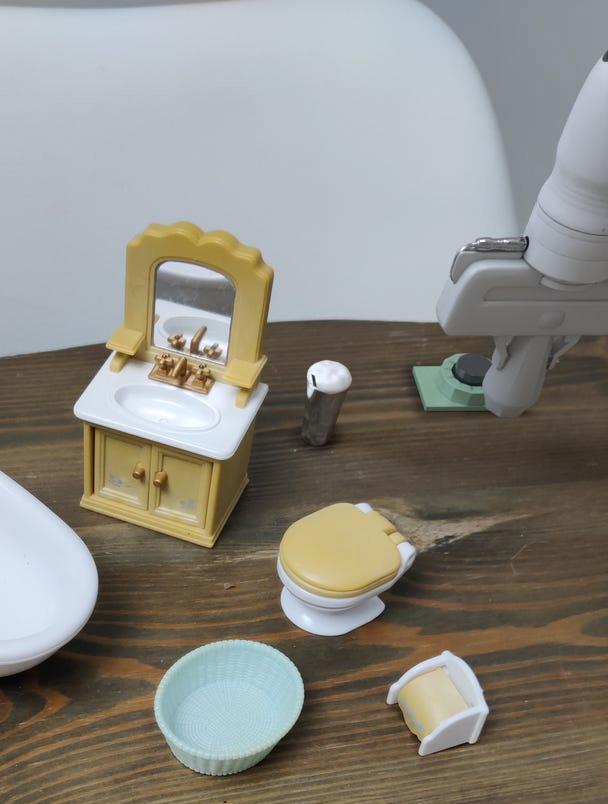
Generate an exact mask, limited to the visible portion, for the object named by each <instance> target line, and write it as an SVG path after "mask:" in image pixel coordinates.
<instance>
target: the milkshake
mask: <svg viewBox="0 0 608 804" xmlns="http://www.w3.org/2000/svg"><path fill="white" fill-rule="evenodd" d="M352 381H353V378H352V375H351V371H350V370H349V368H347V367H346V366H345V365H343V364H342V363H341V362H338V361H333V360H329V359H325V360H321V361H318V362H315V363H313V364H312V365H310V367H309V368H308V370H307V374H306V383H305V384H306V385H305V398H304V408H303V415H302V416H303V417H302V424H301V425H302V426H301V431H300V432H301V433H300V437H301V439H303V441H304V442H305V444H309V445H311V446H313V447H315V446H324V445H326V444H327V443H329V442H330V441H331V438H332V435H333V432H334V430H335V427H336V424H337V421H338V419H339V415H340V412H341V410H342V407H343V404H344V402H345V399H346V397H347V394H348V392H349V389H350V386H351V384H352Z"/></svg>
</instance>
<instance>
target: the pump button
mask: <svg viewBox="0 0 608 804" xmlns="http://www.w3.org/2000/svg"><path fill="white" fill-rule="evenodd" d="M470 353H471V352H470ZM470 353H463V354H464V355H462V356H461V357H459V359H458V360H457V363H456V366H455V369H454V377H455V378H456V379H457V380H458V381H459V382H461V383H463V384H466V385H469V386H482V384H483V380H484V378H485V375H486V373H487V372H488V370H489V369H490V367H491V366H492V362H491V361H492V360H491V359H490V358H487V357H486V356H485V355H482V354H480V353H479V354H478V353H471V354H470ZM489 359H490V360H491V361H490V360H489Z"/></svg>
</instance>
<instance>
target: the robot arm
mask: <svg viewBox="0 0 608 804" xmlns="http://www.w3.org/2000/svg"><path fill="white" fill-rule="evenodd" d="M436 302H437V303H436V306H435V315H436V318H437V322H438V324H439V326H440V327H441V329H442V330H443V332H444V334H446V336H449V337H492V338H493V341H494V345H495V349H494V351H493V354H492V356H491V361H492V364H493V366H494V369H503V368H504V367H505V366H506V364H507V363H508V361H509V360H510V358H511V357H512V356H511V355H509V354H508V353H507V348H506V346H507V345H506V343H510V342H511V341H512V339H513V336H555V337H554V341H553V346H552V350H551V354H550V355H549V357H548V362H547V367H546V369H547V370H553V369H554V368H555V366H556V364H557V362H558V359H559V357H561V356H562V355H564V354H566V352H568V351H569V350H570V349H571V348H573V346H576V345H577V344H578V342H579V340H580V338H581V336H608V49H606V51H605V52H604V53H603V54H602V55H601V57H599V59H598V60H597V61H596V63H595V64H594V65H593V67H592V69H591V70H590V72H589V74H588V76H586V79H585V81H584V83H583V85H582V87H581V89H580V90H579V93H578V96H577V97H576V100H575V101H574V104H573V105H572V109H571V110H570V113H569V116H568V117H567V120H566V122H565V125H564V128H563V130H562V133H561V135H560V137H559V141H558V144H557V147H556V154H555V164H554V166H553V169H552V171H551V174H550V175H549V177H548V178H547V180H546V181H545V182H544V183H543V185H542V187H541V189H540V190H539V193H538V195H537V198H536V200H535V203H534V206H533V209H532V211H531V214H530V216H529V219H528V222H527V223H526V227H525V229H524V233H523V235H522V236H507V237H499V238H496V237H495V238H493V237H490V236H483V237H478V238H476V239H475V240H474V241H473V242H470V243H467V244H466V245H464V246H462V247H460V248H458V249H457V251H456V253H455V254H454V257H453V260H452V262H451V266H450V270H449V275H448V277H447V279H446V281H445V283H444V285H443V287H442V289H441V292H440V294H439V296H438V299H437V301H436ZM551 311H561V312H564V313H565V316H564V320H563V322H562V324H561V326H559V327H558V328H557V329H551V330H546V329H539V328H538V323H539V320H540V318H541V317H542V315H543V314H544V313H547V312H551Z"/></svg>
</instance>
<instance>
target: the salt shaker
mask: <svg viewBox="0 0 608 804" xmlns="http://www.w3.org/2000/svg"><path fill="white" fill-rule="evenodd" d="M564 316H565V313H564V312H561V311H551V312H547V313H544V314H543V315H542V317H541V318H540V320H539V323H538V328H539V329H546V330H551V329H557V328H558V327H559V326H561V324H562V322H563V320H564ZM555 337H556V336H513V339H512V341H511V342H510V343H506V342H505V345H507V346H506V348H507V353H508V354H509V355H511V356H512V357H511V358H510V360H509V361H508V363H507V364H506V366H505V367H504V368H503V369H494V366H493V364H492V366H491V367H490V369H489V370H488V372H487V373H486V375H485V378H484V380H483V384H482V387H483V391H484V396H485V406H486V408H487V409H488V410H490V412H491V413H493V414H494V415H495V416H497V417H498V418H509V419H510V418H512V419H514V418H515V419H517V418H519V417H520V416H521V415H522V414H523V412H525V411H527V410H528V409H529V408H530V407H532V406H534V405H535V404H537V402H538V400H539V398H540V396H541V393H542V391H543V386H544V382H545V378H546V374H547V370H548V369H546V367H547V362H548V357H549V355H550V354H551V350H552V346H553V341H554V338H555Z"/></svg>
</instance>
